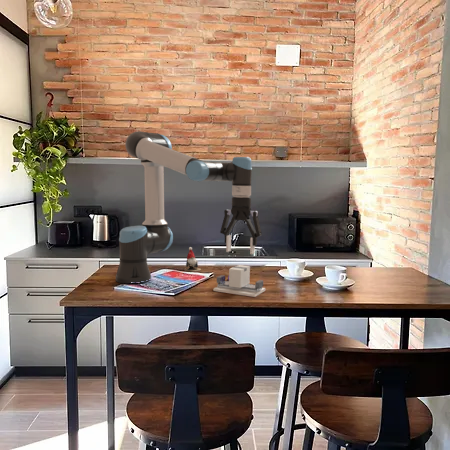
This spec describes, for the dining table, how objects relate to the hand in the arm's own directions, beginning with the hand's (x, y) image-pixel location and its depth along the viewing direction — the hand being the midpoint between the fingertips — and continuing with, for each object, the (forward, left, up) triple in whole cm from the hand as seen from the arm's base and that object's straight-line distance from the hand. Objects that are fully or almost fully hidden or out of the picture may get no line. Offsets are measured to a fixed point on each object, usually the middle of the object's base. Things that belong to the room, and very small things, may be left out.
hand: (240, 252), depth 171 cm
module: (0, 0, -13) cm, 13 cm away
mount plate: (0, 0, -16) cm, 16 cm away
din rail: (0, 0, -16) cm, 16 cm away
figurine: (-37, +25, -16) cm, 47 cm away
